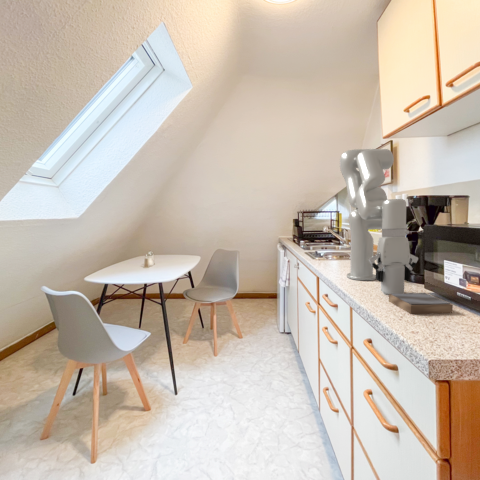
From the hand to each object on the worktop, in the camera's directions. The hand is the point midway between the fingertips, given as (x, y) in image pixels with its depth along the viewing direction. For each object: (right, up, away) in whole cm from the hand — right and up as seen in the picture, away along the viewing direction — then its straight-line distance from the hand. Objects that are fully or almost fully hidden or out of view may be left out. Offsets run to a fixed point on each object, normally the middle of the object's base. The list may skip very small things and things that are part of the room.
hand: (393, 280), depth 100 cm
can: (0, -5, +1) cm, 5 cm away
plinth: (0, -7, -14) cm, 16 cm away
